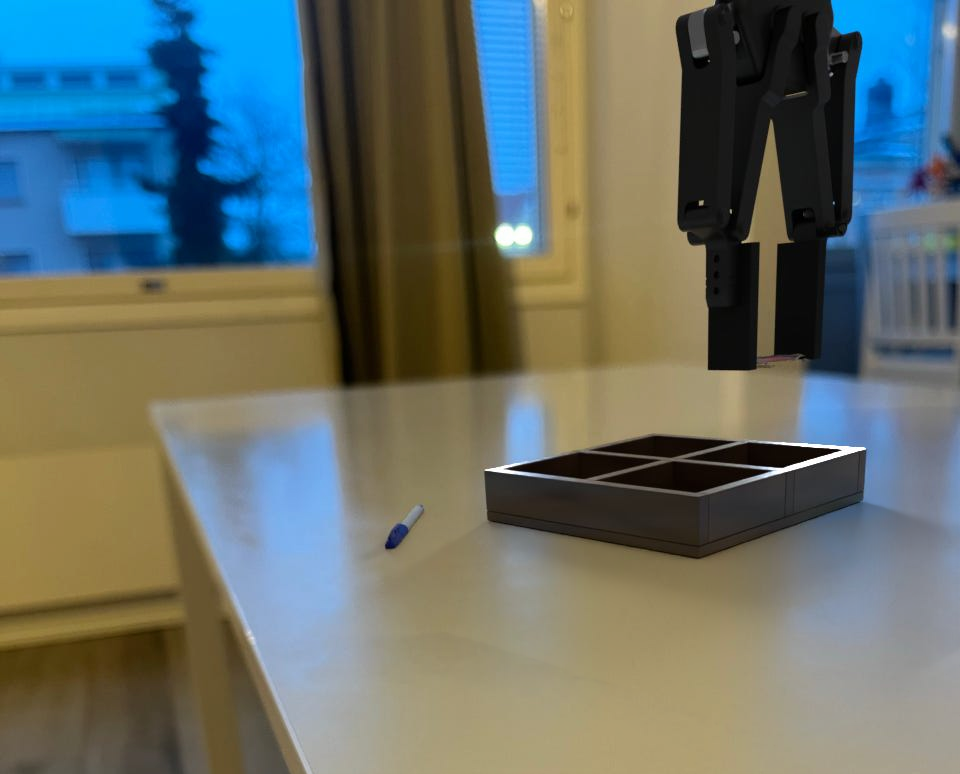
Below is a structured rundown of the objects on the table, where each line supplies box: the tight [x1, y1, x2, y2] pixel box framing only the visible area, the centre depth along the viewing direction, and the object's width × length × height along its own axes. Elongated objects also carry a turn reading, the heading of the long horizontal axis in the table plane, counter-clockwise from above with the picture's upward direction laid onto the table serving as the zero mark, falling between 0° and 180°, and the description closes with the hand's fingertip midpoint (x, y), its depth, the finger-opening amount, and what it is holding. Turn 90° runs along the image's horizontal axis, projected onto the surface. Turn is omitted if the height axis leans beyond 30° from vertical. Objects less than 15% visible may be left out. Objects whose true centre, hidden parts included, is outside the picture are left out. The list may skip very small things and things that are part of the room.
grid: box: [483, 432, 867, 559], centre depth 60 cm, size 16×16×3 cm
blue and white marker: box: [384, 504, 424, 550], centre depth 61 cm, size 10×1×1 cm, turn 175°
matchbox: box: [757, 354, 810, 369], centre depth 57 cm, size 5×5×1 cm
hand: (765, 363), depth 57 cm, fingers closed on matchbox, 6 cm apart
